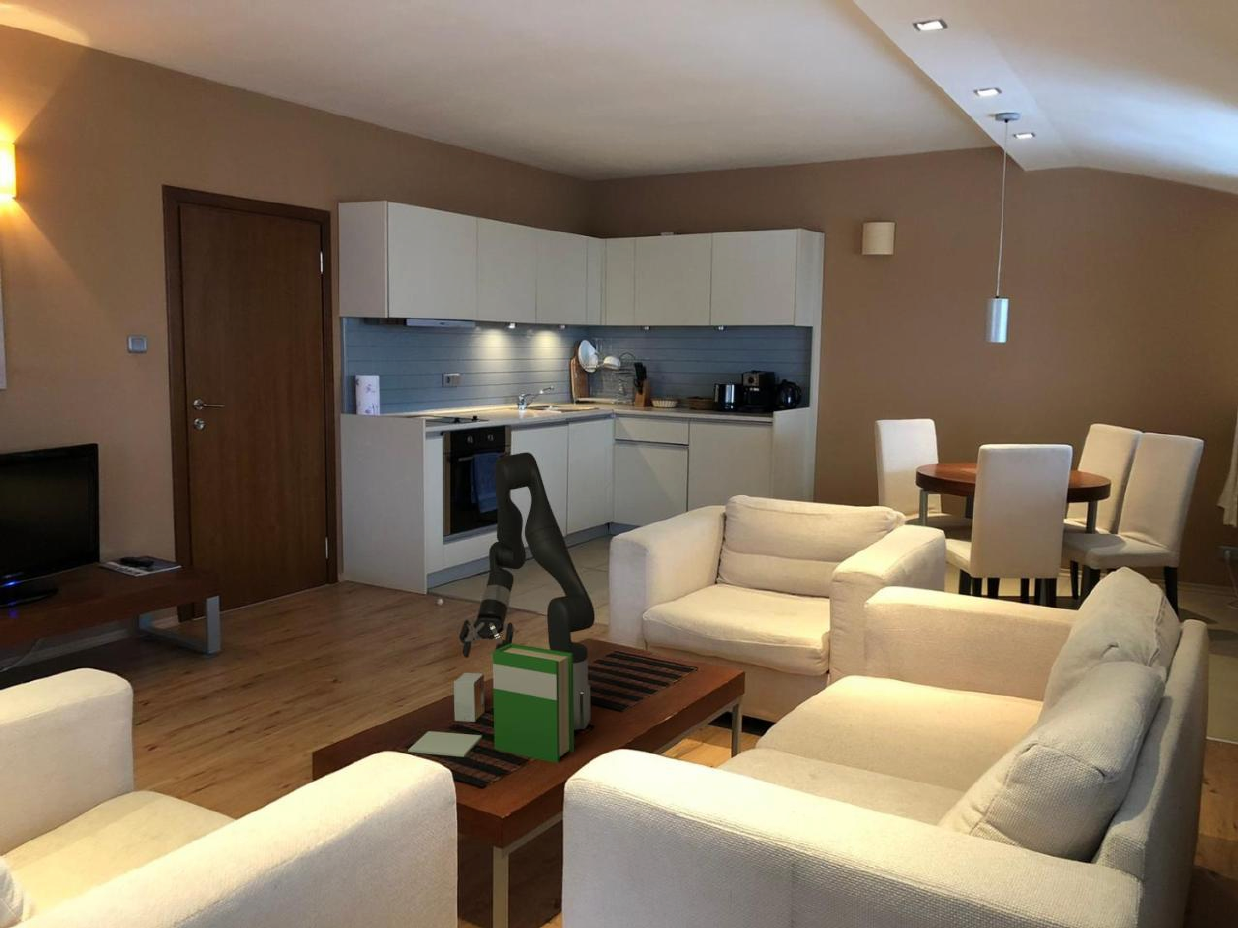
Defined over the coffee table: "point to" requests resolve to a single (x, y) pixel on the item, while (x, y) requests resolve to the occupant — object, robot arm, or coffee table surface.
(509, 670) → the hardback book
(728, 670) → the coffee table surface
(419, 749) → the sage mat
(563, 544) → the robot arm
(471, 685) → the small box
